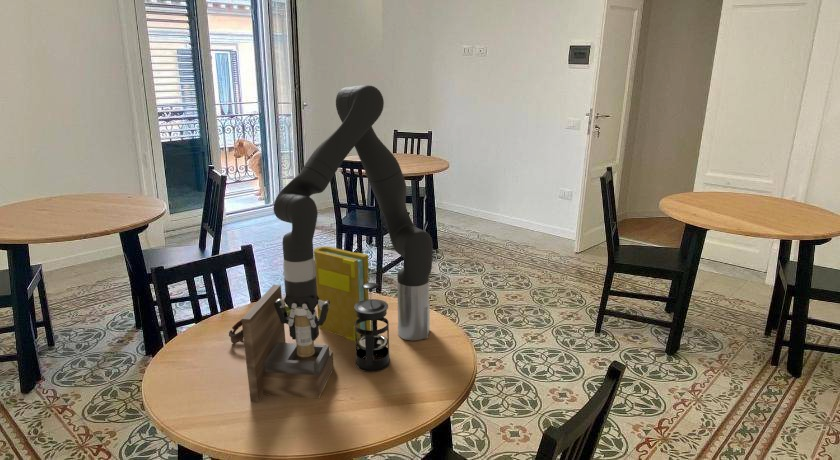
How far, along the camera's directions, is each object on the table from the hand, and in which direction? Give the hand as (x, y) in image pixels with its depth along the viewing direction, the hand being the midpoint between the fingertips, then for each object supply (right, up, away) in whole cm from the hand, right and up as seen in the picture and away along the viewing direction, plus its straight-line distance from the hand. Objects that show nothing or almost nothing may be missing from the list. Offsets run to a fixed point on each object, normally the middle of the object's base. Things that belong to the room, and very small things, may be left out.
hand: (304, 338), depth 134 cm
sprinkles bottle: (0, -4, +1) cm, 4 cm away
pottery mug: (-21, -6, +24) cm, 32 cm away
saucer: (-18, -1, +40) cm, 44 cm away
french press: (+16, -9, +12) cm, 22 cm away
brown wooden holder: (-3, -12, +4) cm, 13 cm away
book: (+5, -4, +30) cm, 31 cm away
